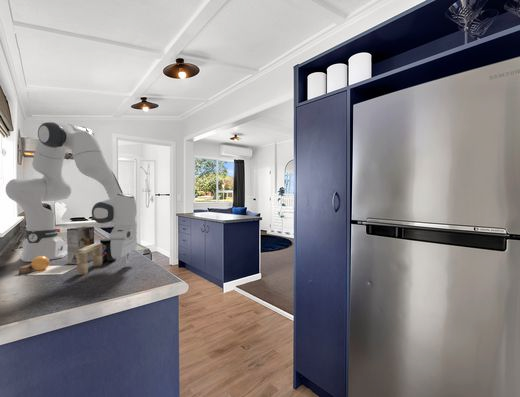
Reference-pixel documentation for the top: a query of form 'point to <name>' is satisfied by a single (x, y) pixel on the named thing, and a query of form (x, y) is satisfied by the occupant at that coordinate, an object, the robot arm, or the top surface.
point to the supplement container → (106, 250)
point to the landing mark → (54, 270)
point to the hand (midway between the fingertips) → (125, 263)
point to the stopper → (25, 269)
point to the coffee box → (79, 242)
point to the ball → (40, 263)
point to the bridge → (83, 257)
